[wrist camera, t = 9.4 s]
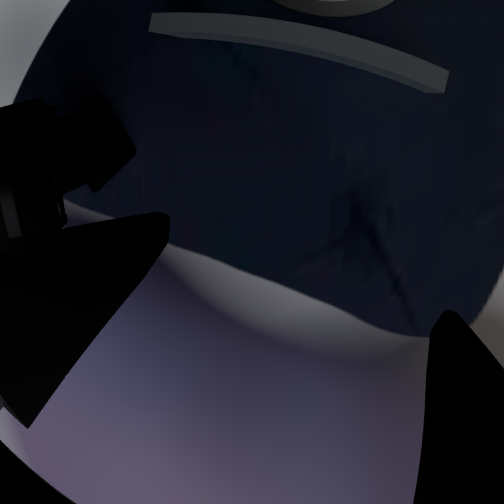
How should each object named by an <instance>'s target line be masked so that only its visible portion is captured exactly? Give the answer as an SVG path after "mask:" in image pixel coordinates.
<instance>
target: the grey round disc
mask: <svg viewBox="0 0 504 504" xmlns="http://www.w3.org/2000/svg"><path fill="white" fill-rule="evenodd" d="M272 1H274V2H276V3H277V4H279V5H282V6H284V7H286V8H288V9H291V10H294V11H297V12H300V13H304V14H308V15H314V16H320V17H350V16H358V15H362V14H366V13H370V12H372V11H375V10H378V9H380V8H382V7H384V6H386V5H388V4H389V3H391V2H392V1H394V0H272Z"/></svg>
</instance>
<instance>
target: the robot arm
mask: <svg viewBox="0 0 504 504" xmlns="http://www.w3.org/2000/svg"><path fill="white" fill-rule="evenodd" d="M97 98H98V100H97ZM55 113H56V105H54V106H47V104H44V102H43V101H42V99H41V98H36V99H32V100H27V101H23V102H19V103H15V104H11V105H8V106H4V107H0V410H1V408H2V407H3V406H4V407H5V408H6V409H7V410H8V411H9V412H10V413H11V414H12V415H13V416H14V417H15V418H16V419H17V420H18V421H19V422H20V423H21V424H23V425H24V426H25V427H26V428H27V429H28V428H29V427H30V426H31V424H32V423H33V421H34V420H35V419H36V417H37V416H38V414H39V413H40V411H41V410H42V409H43V407H44V406H45V404H46V403H47V402H48V400H49V399H50V397H51V396H52V395H53V393H54V392H55V390H56V389H57V388H58V386H59V385H60V383H61V382H62V381H63V379H64V378H65V376H66V375H67V374H68V373H69V371H70V370H71V369H72V367H73V366H74V364H75V363H76V362H77V361H78V359H79V358H80V357H81V355H82V354H83V353H84V351H85V350H86V349H87V348H88V346H89V345H90V343H91V342H92V341H93V340H94V339H95V337H96V336H97V335H98V334H99V332H100V331H101V330H102V329H103V327H104V326H105V325H106V324H107V322H108V321H109V320H110V319H111V317H112V316H113V315H114V314H115V312H116V311H117V310H118V309H119V307H120V306H121V305H122V304H123V303H124V301H125V300H126V299H127V298H128V297H129V295H130V294H131V293H132V292H133V291H134V290H135V288H136V287H137V286H138V285H139V284H140V282H141V281H142V280H143V279H144V277H145V276H146V275H147V273H148V272H149V270H150V269H151V267H152V266H153V264H154V263H155V261H156V260H157V258H158V257H159V255H160V254H161V253H162V251H163V250H164V248H165V247H166V245H167V243H168V240H169V229H170V217H169V216H168V215H167V214H164V213H161V212H152V213H146V214H140V215H134V216H128V217H122V218H116V219H111V220H105V221H100V222H94V223H89V224H84V225H78V226H73V227H68V228H64V229H61V228H62V227H63V226H64V225H65V224H66V223H67V222H68V219H67V214H65V208H64V202H63V195H65V194H67V193H69V192H71V191H73V190H75V189H77V188H79V187H81V186H83V185H85V184H88V186H89V187H90V189H91V191H92V192H97V191H99V190H100V189H101V188H102V187H103V186H104V185H105V184H106V183H107V182H108V181H109V180H110V179H111V178H112V177H113V176H114V175H115V174H116V173H117V172H118V171H119V170H120V169H121V168H122V167H124V166H125V165H126V164H127V163H128V162H129V161H130V160H131V159H132V158H133V157H134V156H135V155H136V149H135V147H134V145H133V144H132V142H131V141H130V139H129V137H128V136H127V134H126V133H125V131H124V129H123V128H122V126H121V125H120V123H119V121H118V120H117V118H116V116H115V115H114V113H113V111H112V110H111V108H110V107H109V105H108V103H107V102H106V100H105V98H104V97H103V95H102V94H95V95H94V96H93V97H92V98H91V99H90V101H89V102H88V103H87V104H86V106H85V107H84V108H83V109H82V111H81V112H77V113H72V114H71V115H68V116H64V117H60V118H56V119H55ZM129 150H130V152H131V153H129ZM413 502H414V503H413V504H504V368H503V367H502V366H501V364H500V363H499V362H498V361H497V359H496V358H495V357H494V356H493V354H492V353H491V352H490V351H489V349H488V348H487V347H486V346H485V345H484V343H482V341H481V340H480V339H479V338H478V336H477V335H476V334H475V333H474V332H473V330H472V329H471V328H470V327H469V326H468V325H467V324H466V322H465V321H464V320H463V319H462V318H461V317H460V316H459V315H458V314H457V313H456V312H453V311H450V310H445V311H444V312H443V313H442V315H441V316H440V318H439V319H438V321H437V322H436V324H435V325H434V327H433V328H432V330H431V333H430V340H429V352H428V363H427V371H426V393H425V415H424V428H423V438H422V448H421V457H420V465H419V471H418V478H417V484H416V491H415V495H414V501H413ZM0 504H76V503H74V502H73V501H72V500H70V499H69V498H67V497H66V496H64V495H63V494H62V493H60V492H59V491H58V490H56V489H55V488H54V487H52V486H51V485H50V484H49V483H48V482H46V481H45V480H44V479H43V478H41V477H40V476H39V475H38V474H36V473H35V472H34V471H33V470H32V469H31V468H30V467H28V466H27V465H26V464H25V463H24V462H23V461H22V460H21V459H19V458H18V457H17V456H16V455H15V454H14V453H13V452H12V451H11V450H10V449H9V448H8V447H7V446H6V445H5V444H4V443H3V442H2V441H1V440H0Z"/></svg>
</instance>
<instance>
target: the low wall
mask: <svg viewBox="0 0 504 504" xmlns="http://www.w3.org/2000/svg"><path fill="white" fill-rule="evenodd" d="M149 32H155V33H161V34H166V35H171V36H176V37H181V38H195V39H209V40H220V41H229V42H238V43H245V44H252V45H259V46H265V47H271V48H277V49H282V50H288V51H293V52H297V53H302V54H306V55H311V56H315V57H319V58H323V59H327V60H331V61H335V62H339V63H342V64H346V65H349V66H353V67H356V68H359V69H362V70H366V71H369V72H372V73H375V74H378V75H381V76H384V77H386V78H389V79H392V80H395V81H398V82H400V83H403V84H405V85H408V86H411V87H413V88H416V89H418V90H420V91H423V92H425V93H444V91H445V87H446V83H447V79H448V75H449V71H447V70H445V69H443V68H441V67H439V66H436V65H434V64H432V63H429V62H427V61H425V60H422V59H420V58H417V57H415V56H412V55H410V54H407V53H404V52H402V51H399V50H396V49H393V48H390V47H387V46H384V45H381V44H378V43H375V42H372V41H369V40H366V39H362V38H359V37H355V36H352V35H348V34H344V33H340V32H336V31H332V30H328V29H324V28H319V27H315V26H310V25H305V24H300V23H294V22H289V21H283V20H276V19H269V18H262V17H253V16H244V15H233V14H218V13H188V12H177V13H152V17H151V22H150V27H149Z"/></svg>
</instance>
